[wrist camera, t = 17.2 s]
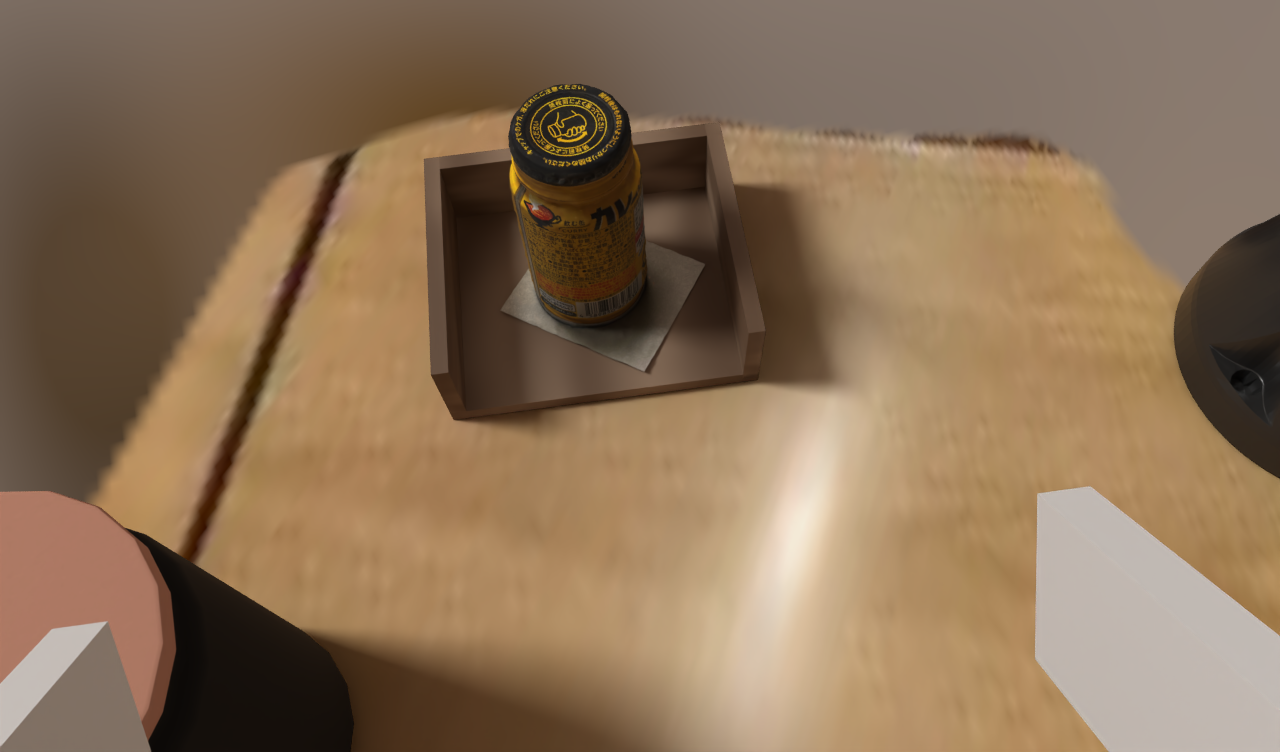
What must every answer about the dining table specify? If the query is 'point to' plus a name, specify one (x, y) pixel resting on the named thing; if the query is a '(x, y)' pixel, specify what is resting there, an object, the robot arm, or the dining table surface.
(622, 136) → the condiment
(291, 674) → the coffee jar
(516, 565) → the dining table surface
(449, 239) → the caddy
